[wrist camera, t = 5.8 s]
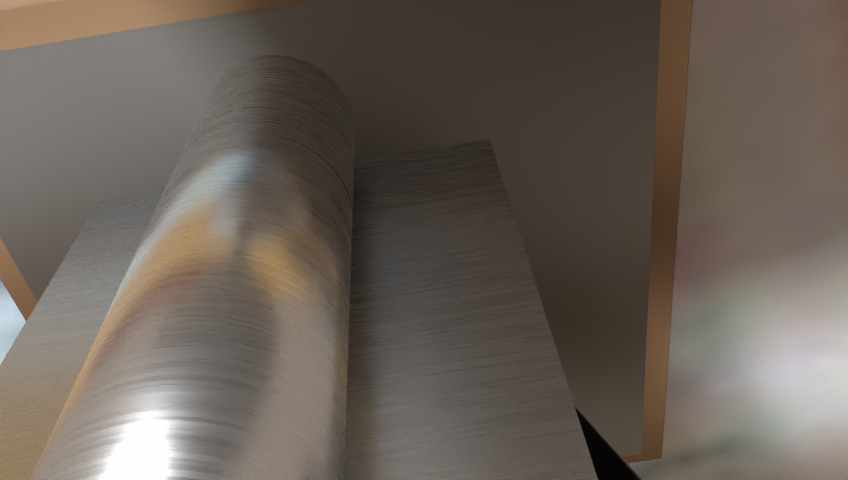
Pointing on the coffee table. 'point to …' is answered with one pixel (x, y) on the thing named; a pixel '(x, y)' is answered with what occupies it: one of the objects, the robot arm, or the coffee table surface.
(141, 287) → the block
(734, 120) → the coffee table surface
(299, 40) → the plinth
